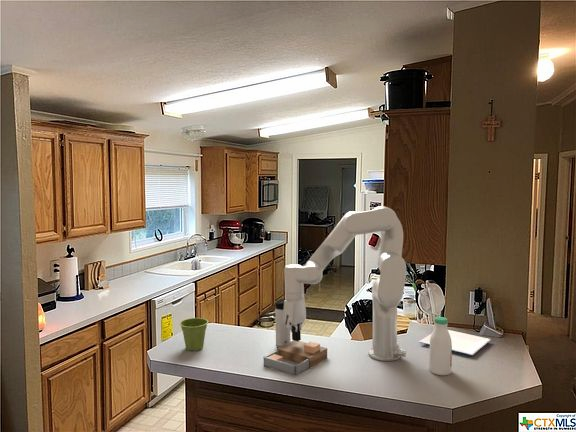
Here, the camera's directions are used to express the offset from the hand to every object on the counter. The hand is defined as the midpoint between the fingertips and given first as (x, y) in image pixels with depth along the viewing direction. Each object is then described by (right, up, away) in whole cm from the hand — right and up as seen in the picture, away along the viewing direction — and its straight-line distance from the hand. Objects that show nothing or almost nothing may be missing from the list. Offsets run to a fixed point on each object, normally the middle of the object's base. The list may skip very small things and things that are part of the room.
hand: (296, 340), depth 179 cm
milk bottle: (+52, -7, -16) cm, 55 cm away
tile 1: (-8, -4, -9) cm, 13 cm away
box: (-4, -7, -11) cm, 14 cm away
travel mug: (-5, -6, +10) cm, 13 cm away
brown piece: (+2, -6, -3) cm, 7 cm away
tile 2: (+6, -3, -6) cm, 9 cm away
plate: (+68, -5, +11) cm, 69 cm away
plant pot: (-43, -6, +9) cm, 44 cm away
